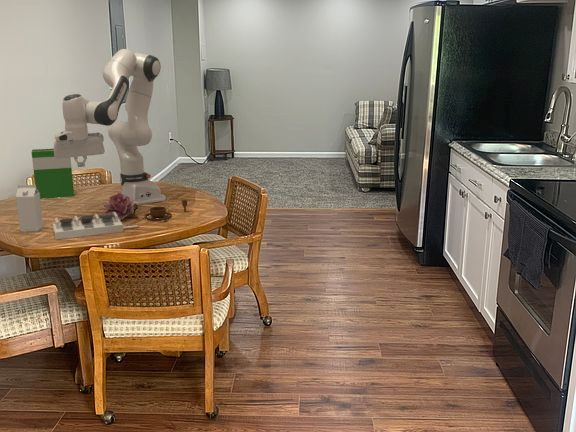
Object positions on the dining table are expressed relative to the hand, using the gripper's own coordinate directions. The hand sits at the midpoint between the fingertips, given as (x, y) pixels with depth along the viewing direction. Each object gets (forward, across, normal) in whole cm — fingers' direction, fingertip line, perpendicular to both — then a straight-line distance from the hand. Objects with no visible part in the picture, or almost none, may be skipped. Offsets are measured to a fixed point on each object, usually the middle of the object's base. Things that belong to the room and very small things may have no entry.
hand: (81, 166), depth 242 cm
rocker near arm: (+20, -6, +15) cm, 26 cm away
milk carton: (+24, +23, +4) cm, 33 cm away
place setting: (+26, -33, +8) cm, 43 cm away
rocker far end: (+20, +10, +15) cm, 26 cm away
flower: (+25, -14, +1) cm, 29 cm away
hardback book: (+25, +10, -54) cm, 60 cm away
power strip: (+24, -1, +17) cm, 29 cm away
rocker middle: (+20, +2, +15) cm, 25 cm away
